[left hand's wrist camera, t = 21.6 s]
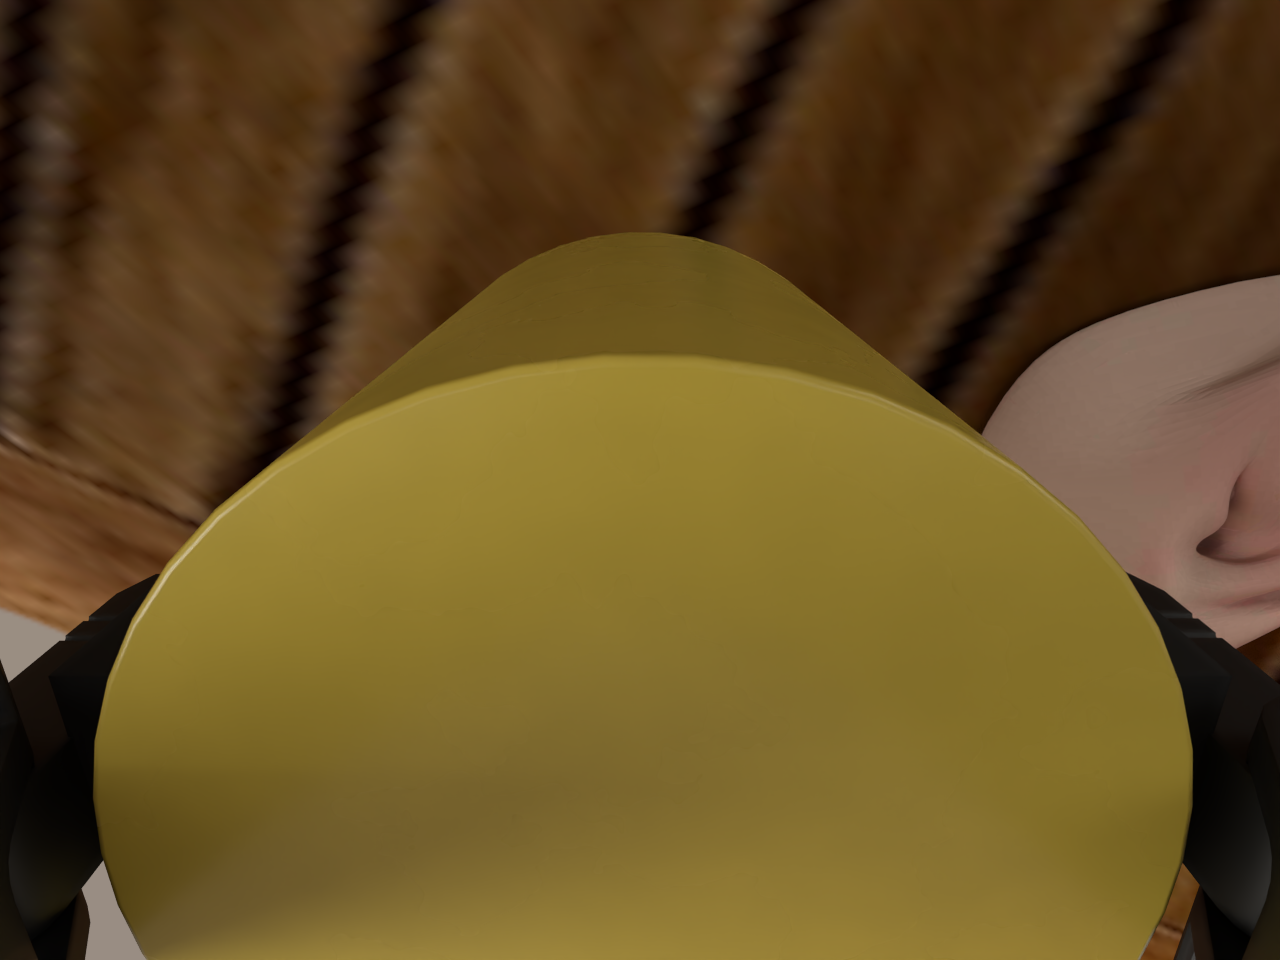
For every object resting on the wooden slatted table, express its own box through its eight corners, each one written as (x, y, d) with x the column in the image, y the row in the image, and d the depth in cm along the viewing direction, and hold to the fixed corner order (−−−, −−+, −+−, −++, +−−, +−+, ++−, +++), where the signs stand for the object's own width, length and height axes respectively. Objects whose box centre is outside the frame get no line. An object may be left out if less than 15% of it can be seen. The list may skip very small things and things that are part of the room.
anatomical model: (985, 722, 23) (1022, 327, 19) (937, 645, 27) (959, 300, 22) (1456, 690, 23) (1603, 278, 18) (1342, 616, 26) (1442, 259, 22)
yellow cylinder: (916, 252, 14) (1396, 407, 5) (831, 679, 17) (1032, 1220, 9) (400, 212, 14) (-35, 302, 5) (415, 653, 17) (174, 1183, 8)
